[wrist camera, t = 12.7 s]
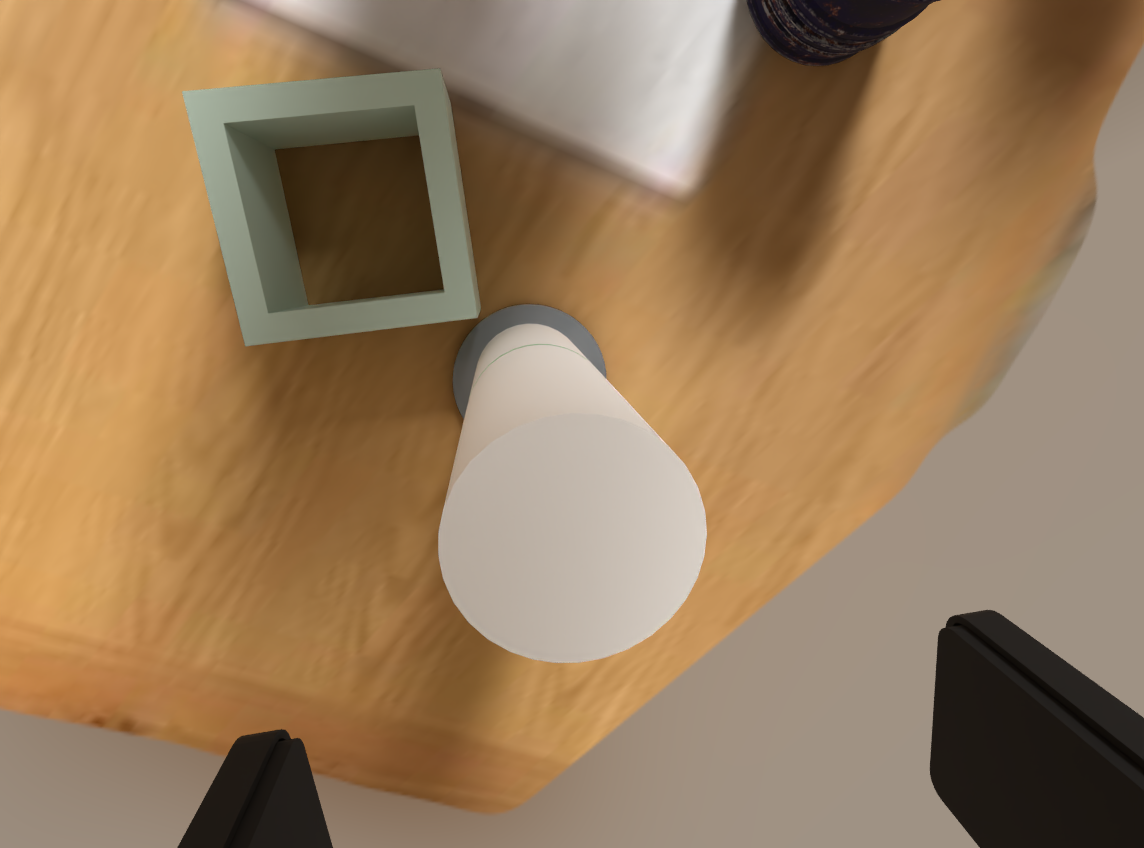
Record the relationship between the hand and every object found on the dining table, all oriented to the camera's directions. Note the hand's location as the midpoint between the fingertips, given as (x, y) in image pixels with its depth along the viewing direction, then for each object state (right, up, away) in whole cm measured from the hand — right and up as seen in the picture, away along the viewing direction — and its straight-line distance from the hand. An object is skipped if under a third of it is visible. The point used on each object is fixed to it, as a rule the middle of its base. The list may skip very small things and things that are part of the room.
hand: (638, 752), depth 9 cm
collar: (-13, +17, +29) cm, 36 cm away
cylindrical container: (-4, +8, +32) cm, 33 cm away
